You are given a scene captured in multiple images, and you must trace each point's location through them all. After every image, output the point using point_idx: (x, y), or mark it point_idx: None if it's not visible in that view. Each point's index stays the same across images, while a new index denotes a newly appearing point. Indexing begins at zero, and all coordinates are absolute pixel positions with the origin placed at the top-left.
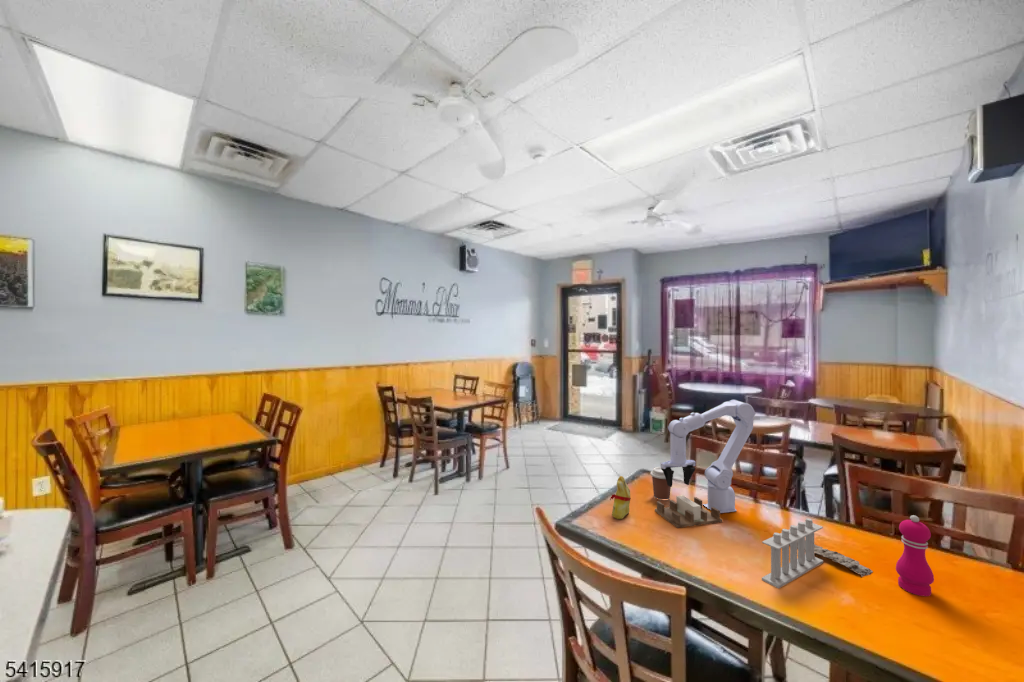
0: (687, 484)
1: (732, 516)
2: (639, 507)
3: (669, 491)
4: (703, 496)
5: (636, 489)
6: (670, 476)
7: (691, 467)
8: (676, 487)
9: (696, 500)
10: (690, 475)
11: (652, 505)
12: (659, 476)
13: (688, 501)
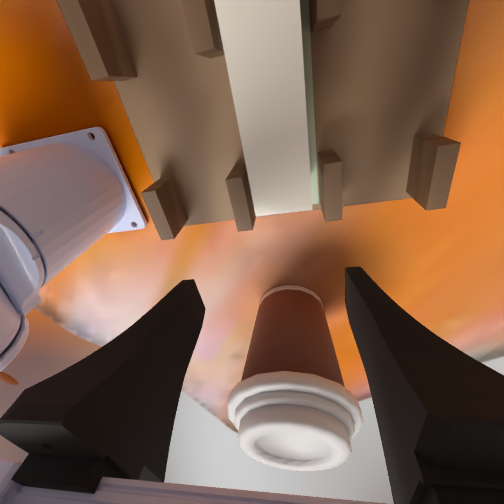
0: (191, 282)
1: (25, 90)
2: (470, 239)
3: (267, 316)
4: (120, 296)
5: (347, 370)
6: (427, 340)
7: (51, 445)
8: (194, 360)
9: (170, 215)
10: (129, 338)
11: (383, 252)
12: (340, 398)
13: (273, 91)
